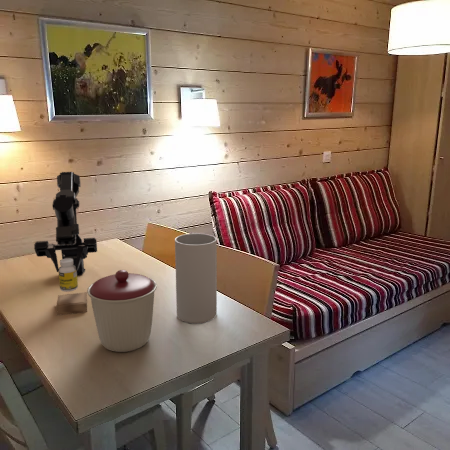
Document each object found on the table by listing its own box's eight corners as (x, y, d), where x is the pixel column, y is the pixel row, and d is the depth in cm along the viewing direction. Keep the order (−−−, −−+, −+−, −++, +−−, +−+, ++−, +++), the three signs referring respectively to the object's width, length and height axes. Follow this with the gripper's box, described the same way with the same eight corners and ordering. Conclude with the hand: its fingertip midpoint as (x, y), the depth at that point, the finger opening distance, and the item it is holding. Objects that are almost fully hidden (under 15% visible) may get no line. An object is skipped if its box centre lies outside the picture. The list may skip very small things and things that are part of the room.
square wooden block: (87, 300, 144) (86, 291, 144) (87, 311, 136) (86, 302, 135) (58, 303, 142) (58, 294, 141) (57, 315, 133) (56, 306, 133)
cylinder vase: (209, 304, 142) (208, 231, 136) (222, 320, 131) (222, 242, 124) (172, 310, 138) (170, 235, 131) (182, 327, 126) (181, 246, 120)
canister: (79, 341, 118) (73, 270, 113) (135, 320, 130) (132, 255, 125) (113, 368, 105) (108, 289, 100) (172, 342, 118) (170, 270, 113)
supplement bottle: (57, 291, 135) (54, 262, 132) (64, 285, 140) (62, 257, 138) (73, 292, 134) (71, 263, 132) (80, 285, 140) (78, 257, 137)
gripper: (31, 217, 132) (30, 262, 125) (94, 213, 137) (96, 257, 130) (37, 234, 142) (36, 277, 134) (96, 230, 147) (98, 272, 139)
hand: (67, 270), depth 134 cm, fingers closed on supplement bottle, 5 cm apart
